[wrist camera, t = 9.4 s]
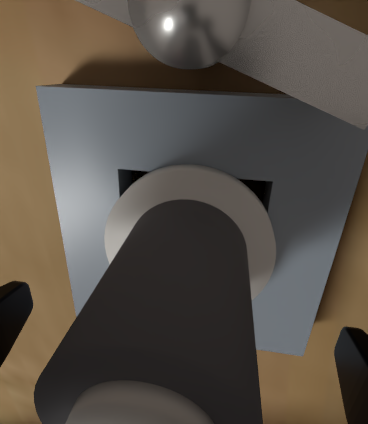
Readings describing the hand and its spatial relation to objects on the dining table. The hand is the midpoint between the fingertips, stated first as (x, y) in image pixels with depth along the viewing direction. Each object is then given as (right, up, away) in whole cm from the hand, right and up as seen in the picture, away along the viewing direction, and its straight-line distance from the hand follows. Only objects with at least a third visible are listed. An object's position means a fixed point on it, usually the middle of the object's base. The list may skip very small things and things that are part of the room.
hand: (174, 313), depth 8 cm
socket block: (+1, +2, +5) cm, 5 cm away
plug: (+1, +2, +5) cm, 5 cm away
